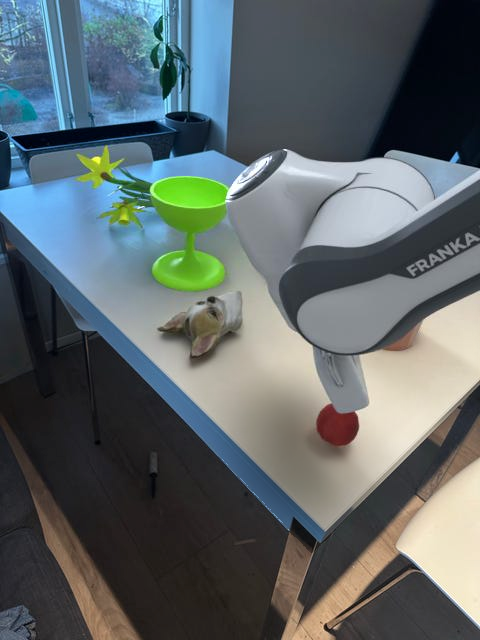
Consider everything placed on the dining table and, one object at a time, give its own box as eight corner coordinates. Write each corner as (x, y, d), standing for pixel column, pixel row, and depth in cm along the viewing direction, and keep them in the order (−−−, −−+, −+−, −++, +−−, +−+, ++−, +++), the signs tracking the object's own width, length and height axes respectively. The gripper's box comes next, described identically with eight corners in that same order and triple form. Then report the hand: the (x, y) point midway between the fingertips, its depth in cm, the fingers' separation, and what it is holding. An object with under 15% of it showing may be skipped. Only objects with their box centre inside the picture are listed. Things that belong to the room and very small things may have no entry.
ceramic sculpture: (262, 297, 76) (191, 333, 68) (258, 335, 81) (192, 373, 73) (221, 270, 82) (152, 300, 74) (220, 307, 87) (156, 339, 79)
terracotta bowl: (423, 328, 89) (435, 299, 85) (402, 360, 81) (415, 330, 76) (365, 303, 94) (374, 275, 90) (340, 330, 86) (349, 301, 81)
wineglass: (193, 246, 106) (197, 171, 95) (240, 275, 98) (249, 197, 87) (136, 265, 97) (133, 185, 86) (183, 300, 88) (185, 215, 77)
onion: (327, 418, 68) (340, 381, 63) (359, 442, 65) (374, 405, 60) (303, 438, 64) (314, 401, 59) (336, 465, 61) (350, 427, 56)
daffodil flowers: (223, 229, 117) (92, 217, 94) (191, 236, 128) (67, 227, 105) (220, 164, 116) (88, 136, 93) (189, 177, 127) (64, 154, 105)
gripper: (359, 354, 41) (397, 434, 49) (332, 237, 56) (365, 312, 64) (294, 373, 43) (342, 447, 51) (286, 255, 58) (323, 326, 66)
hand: (355, 371), depth 58 cm, fingers open, 8 cm apart
